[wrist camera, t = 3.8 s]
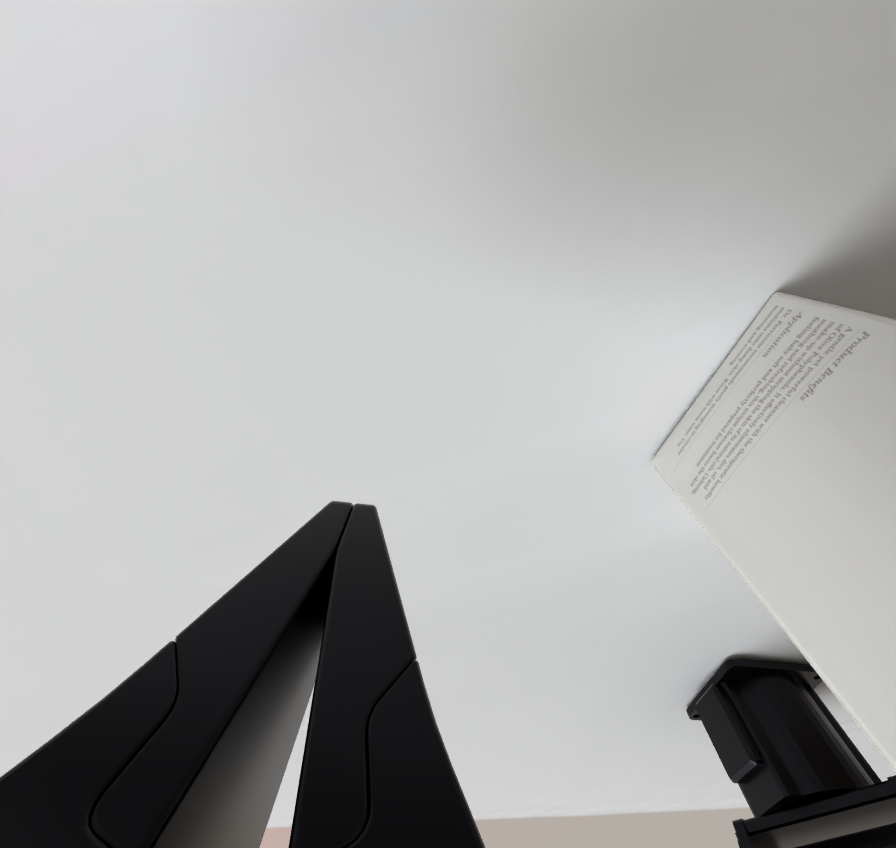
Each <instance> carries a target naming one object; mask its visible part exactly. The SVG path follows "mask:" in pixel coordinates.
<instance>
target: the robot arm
mask: <svg viewBox="0 0 896 848" xmlns="http://www.w3.org/2000/svg"><path fill="white" fill-rule="evenodd" d="M175 642H176V643H175ZM175 642H174V641H171V642H169V643H168V644H167V645H166V646H165V647H163V648H162V649H161V650H160V651H159V652H158V653H157V654H155V655H154V656H153V657H152V658H151V659H150V660H148V661H147V662H146V663H145V664H144V665H143V666H141V667H140V668H139V669H138V670H137V671H135V672H134V673H133V674H132V675H131V676H129V677H128V678H127V679H126V680H125V681H124V682H122V683H121V684H120V685H119V686H118V687H116V688H115V689H114V690H113V691H112V692H110V693H109V694H108V695H107V696H106V697H104V698H103V699H102V700H101V701H99V702H98V703H97V704H95V705H94V706H93V707H92V708H90V709H89V710H88V711H86V712H85V713H84V714H83V715H81V716H80V717H79V718H77V719H76V720H75V721H74V722H72V723H71V724H70V725H69V726H67V727H66V728H65V729H63V730H62V731H61V732H60V733H58V734H57V735H56V736H54V737H53V738H52V739H51V740H49V741H48V742H47V743H45V744H44V745H43V746H41V747H40V748H39V749H37V750H36V751H35V752H33V753H32V754H31V755H29V756H28V757H27V758H25V759H24V760H23V761H21V762H20V763H19V764H17V765H16V766H15V767H13V768H12V769H11V770H9V771H8V772H7V773H5V774H4V775H3V776H1V777H0V848H259V847H260V844H261V841H262V838H263V835H264V832H265V829H266V826H267V823H268V820H269V817H270V814H271V811H272V808H273V805H274V802H275V799H276V796H277V793H278V790H279V788H280V785H281V782H282V779H283V776H284V773H285V770H286V767H287V764H288V761H289V758H290V755H291V752H292V749H293V746H294V743H295V740H296V737H297V734H298V731H299V728H300V725H301V722H302V719H303V716H304V713H305V710H306V707H307V704H308V702H309V699H310V696H311V693H312V690H313V687H314V692H313V698H312V705H311V711H310V717H309V723H308V730H307V736H306V742H305V749H304V755H303V761H302V767H301V774H300V780H299V786H298V792H297V799H296V805H295V811H294V817H293V824H292V830H291V836H290V843H289V848H485V846H484V843H483V841H482V838H481V836H480V833H479V831H478V828H477V826H476V823H475V821H474V819H473V816H472V814H471V811H470V809H469V806H468V804H467V801H466V799H465V796H464V794H463V792H462V789H461V787H460V784H459V782H458V779H457V777H456V774H455V772H454V769H453V767H452V764H451V762H450V759H449V756H448V754H447V751H446V748H445V746H444V743H443V740H442V737H441V735H440V732H439V729H438V727H437V724H436V721H435V718H434V715H433V711H432V708H431V705H430V701H429V698H428V695H427V692H426V688H425V685H424V681H423V678H422V674H421V671H420V667H419V663H418V661H416V653H415V649H414V646H413V642H412V638H411V635H410V631H409V627H408V624H407V620H406V616H405V612H404V609H403V605H402V601H401V598H400V594H399V590H398V587H397V583H396V579H395V576H394V572H393V568H392V564H391V561H390V557H389V553H388V550H387V546H386V542H385V539H384V535H383V531H382V528H381V524H380V520H379V516H378V513H377V509H376V507H375V506H374V505H367V504H355V505H354V506H353V504H352V503H348V502H339V501H332V502H330V503H329V504H328V505H327V506H325V507H324V508H323V509H322V510H321V511H320V512H319V513H317V514H316V515H315V516H314V517H313V518H312V519H310V520H309V521H308V522H307V523H306V524H305V525H304V526H302V527H301V528H300V529H299V530H298V531H297V532H296V533H294V534H293V535H292V536H291V537H290V538H289V539H288V540H286V541H285V542H284V543H283V544H282V545H281V546H280V547H278V548H277V549H276V550H275V551H274V552H273V553H272V554H270V555H269V556H268V557H267V558H266V559H265V560H263V561H262V562H261V563H260V564H259V565H258V566H257V567H255V568H254V569H253V570H252V571H251V572H250V573H249V574H247V575H246V576H245V577H244V578H243V579H242V580H241V581H239V582H238V583H237V584H236V585H235V586H234V587H233V588H231V589H230V590H229V591H228V592H227V593H226V594H224V595H223V596H222V597H221V598H220V599H219V600H218V601H216V602H215V603H214V604H213V605H212V606H211V607H210V608H208V609H207V610H206V611H205V612H204V613H203V614H202V615H200V616H199V617H198V618H197V619H196V620H195V621H194V622H192V623H191V624H190V625H189V626H188V627H187V628H186V629H184V630H183V631H182V632H181V633H180V634H179V635H177V636H176V639H175ZM822 681H823V680H822V679H821V677H820V676H819V675H818V674H817V672H816V671H815V670H814V668H813V667H812V666H809V665H797V664H785V663H773V662H761V661H749V660H737V659H733V660H729V661H727V662H725V663H724V664H723V665H722V667H721V668H720V669H719V670H718V672H717V673H716V674H715V675H714V677H713V678H712V679H711V680H710V681H709V683H708V684H707V685H706V686H705V688H704V689H703V690H702V691H701V692H700V694H699V695H698V696H697V697H696V699H695V700H694V701H693V702H692V704H691V705H690V706H689V707H688V708H687V710H686V711H687V714H688V716H689V718H690V719H692V720H702V723H703V725H704V727H705V729H706V731H707V733H708V735H709V737H710V739H711V741H712V743H713V745H714V747H715V749H716V751H717V753H718V755H719V758H720V760H721V762H722V764H723V766H724V768H725V770H726V772H727V774H728V776H729V778H730V779H731V780H732V782H734V783H738V784H739V787H740V789H741V791H742V793H743V795H744V797H745V799H746V801H747V803H748V805H749V807H750V809H751V811H752V813H753V814H754V818H751V819H747V820H743V819H739V820H736V821H733V825H734V828H735V831H736V833H735V834H736V837H737V839H738V844H739V847H740V848H896V775H895V776H892V777H888V778H887V779H888V780H887V781H884V782H882V781H881V780H880V779H879V777H878V776H877V775H876V773H875V772H874V771H873V769H872V768H871V767H870V765H869V764H868V763H867V761H866V760H865V758H864V757H863V756H862V754H861V753H860V752H859V750H858V749H857V748H856V746H855V745H854V744H853V742H852V741H851V740H850V738H849V737H848V736H847V734H846V733H845V732H844V730H843V729H842V727H841V726H840V725H839V723H838V722H837V721H836V719H835V718H834V717H833V715H832V714H831V713H830V711H829V710H828V709H827V707H826V706H825V705H824V703H823V702H822V701H821V699H820V698H819V696H818V695H817V694H816V692H815V691H814V690H813V689H814V688H815V687H816V686H817V685H819V684H820V683H821V682H822ZM314 684H315V686H314Z"/></svg>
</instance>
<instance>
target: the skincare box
mask: <svg viewBox="0 0 896 848" xmlns="http://www.w3.org/2000/svg"><path fill="white" fill-rule="evenodd" d="M651 462H652V465H653V466H654V468H655V469H656V471H657V472H658V473H659V474H660V476H661V477H662V478H663V480H664V481H665V482H666V483H667V485H668V486H669V487H670V488H671V489H672V491H673V492H674V493H675V494H676V496H677V497H678V498H679V500H680V501H681V502H682V503H683V505H684V506H685V507H686V508H687V509H688V511H689V512H690V513H691V514H692V516H693V517H694V518H695V519H696V520H697V522H698V523H699V524H700V525H701V527H702V528H703V529H704V531H705V532H706V533H707V534H708V536H709V537H710V538H711V539H712V541H713V542H714V543H715V544H716V546H717V547H718V548H719V549H720V551H721V552H722V553H723V555H724V556H725V557H726V558H727V560H728V561H729V562H730V564H731V565H732V566H733V567H734V569H735V570H736V571H737V573H738V574H739V575H740V576H741V578H742V579H743V580H744V581H745V583H746V584H747V585H748V586H749V588H750V589H751V590H752V591H753V593H754V594H755V595H756V596H757V598H758V599H759V600H760V602H761V603H762V604H763V605H764V607H765V608H766V609H767V610H768V612H769V613H770V614H771V615H772V617H773V618H774V619H775V620H776V622H777V623H778V624H779V625H780V627H781V628H782V629H783V631H784V632H785V633H786V634H787V636H788V637H789V638H790V639H791V641H792V642H793V643H794V644H795V646H796V647H797V648H798V649H799V651H800V652H801V653H802V654H803V656H804V657H805V658H806V660H807V661H808V662H809V663H810V665H811V666H812V667H813V668H814V670H815V671H816V672H817V674H818V675H819V676H820V677H821V679H822V680H823V681H824V682H825V684H826V685H827V686H828V688H829V689H830V690H831V691H832V693H833V694H834V695H835V696H836V698H837V699H838V700H839V702H840V703H841V704H842V705H843V707H844V708H845V709H846V710H847V712H848V713H849V714H850V715H851V717H852V718H853V719H854V721H855V722H856V723H857V724H858V726H859V727H860V728H861V729H862V731H863V732H864V733H865V734H866V736H867V737H868V738H869V740H870V741H871V742H872V743H873V745H874V746H875V747H876V748H877V750H878V751H879V752H880V754H881V755H882V756H883V757H884V759H885V760H886V761H887V762H888V764H889V765H890V766H891V768H892V769H893V770H894V771H895V773H896V319H892V318H888V317H884V316H880V315H876V314H872V313H867V312H863V311H859V310H855V309H851V308H846V307H842V306H838V305H834V304H830V303H826V302H821V301H817V300H813V299H809V298H804V297H800V296H795V295H791V294H787V293H782V292H775V293H774V294H773V295H772V296H771V298H770V299H769V300H768V302H767V303H766V305H765V306H764V307H763V309H762V310H761V311H760V313H759V314H758V316H757V317H756V318H755V320H754V321H753V322H752V324H751V325H750V327H749V328H748V329H747V331H746V332H745V333H744V335H743V336H742V338H741V339H740V340H739V342H738V343H737V344H736V346H735V347H734V348H733V350H732V351H731V353H730V354H729V355H728V357H727V358H726V359H725V361H724V362H723V363H722V365H721V366H720V368H719V369H718V370H717V372H716V373H715V374H714V376H713V377H712V378H711V380H710V381H709V383H708V384H707V385H706V387H705V388H704V389H703V391H702V392H701V393H700V395H699V396H698V398H697V399H696V400H695V402H694V403H693V404H692V406H691V407H690V408H689V410H688V411H687V413H686V414H685V415H684V417H683V418H682V419H681V421H680V422H679V423H678V425H677V426H676V427H675V429H674V430H673V432H672V433H671V434H670V436H669V437H668V439H667V440H666V441H665V443H664V444H663V445H662V447H661V448H660V449H659V451H658V452H657V454H656V455H655V456H654V458H653V459H652V461H651Z"/></svg>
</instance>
